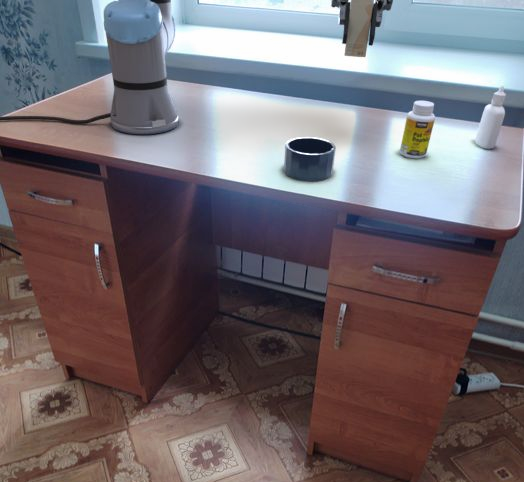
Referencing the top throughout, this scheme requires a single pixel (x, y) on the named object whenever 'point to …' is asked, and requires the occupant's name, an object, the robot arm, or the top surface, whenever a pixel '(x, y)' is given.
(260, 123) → the top surface
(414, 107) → the supplement bottle
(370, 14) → the box
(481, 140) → the eye dropper bottle
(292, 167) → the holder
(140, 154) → the top surface
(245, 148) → the top surface
